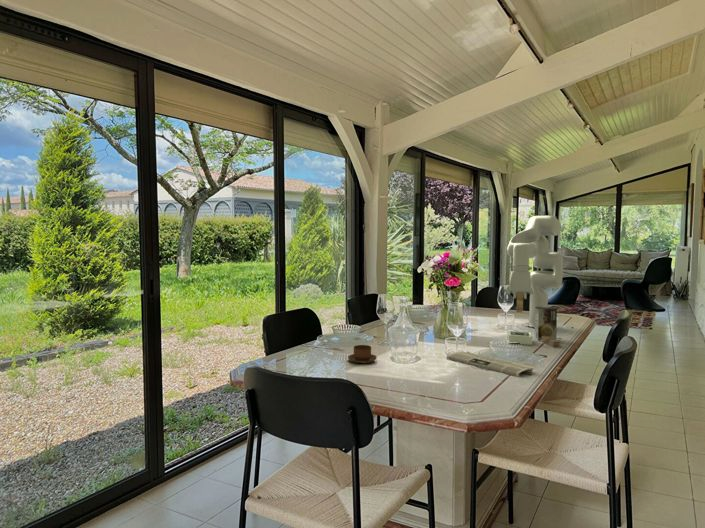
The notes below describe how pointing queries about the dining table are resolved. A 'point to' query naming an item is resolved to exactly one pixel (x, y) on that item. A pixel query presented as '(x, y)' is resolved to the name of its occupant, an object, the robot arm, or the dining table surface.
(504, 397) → the dining table surface
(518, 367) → the newspaper
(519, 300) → the wooden square peg
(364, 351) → the cup and saucer
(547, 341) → the wooden door wedge
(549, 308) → the coffee box
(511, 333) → the pale green square tray
